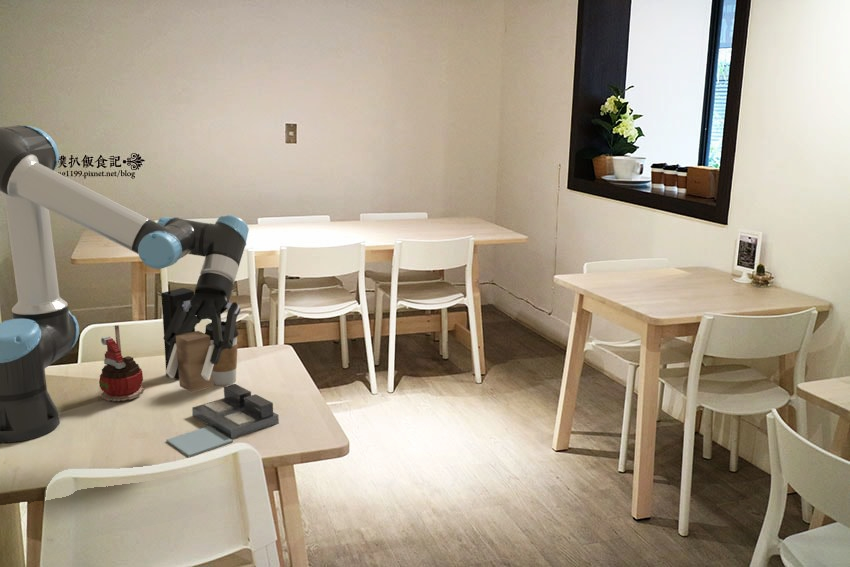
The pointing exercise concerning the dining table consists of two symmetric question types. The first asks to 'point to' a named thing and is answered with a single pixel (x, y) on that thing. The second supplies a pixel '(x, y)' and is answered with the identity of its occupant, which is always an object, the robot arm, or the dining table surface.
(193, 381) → the walnut block
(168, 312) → the portable radio
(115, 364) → the cake
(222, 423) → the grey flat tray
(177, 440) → the mat
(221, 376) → the coffee cup
